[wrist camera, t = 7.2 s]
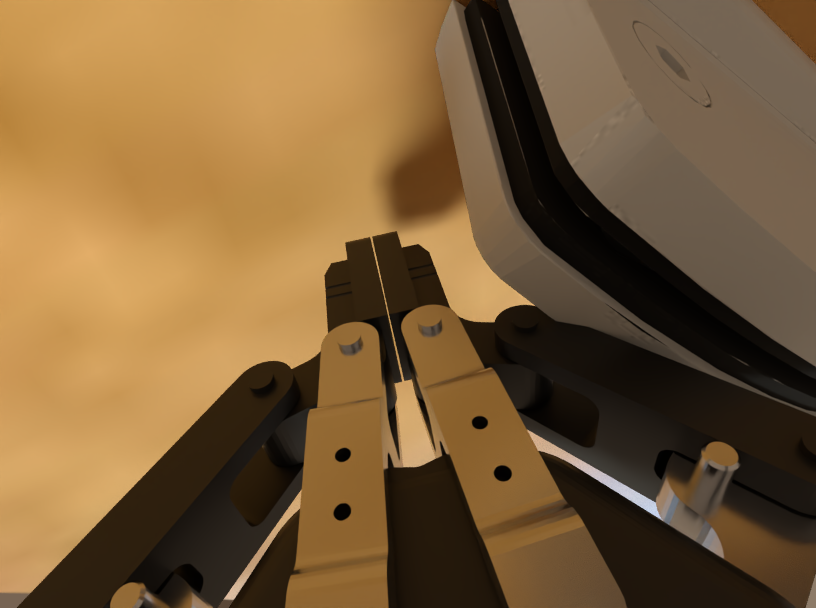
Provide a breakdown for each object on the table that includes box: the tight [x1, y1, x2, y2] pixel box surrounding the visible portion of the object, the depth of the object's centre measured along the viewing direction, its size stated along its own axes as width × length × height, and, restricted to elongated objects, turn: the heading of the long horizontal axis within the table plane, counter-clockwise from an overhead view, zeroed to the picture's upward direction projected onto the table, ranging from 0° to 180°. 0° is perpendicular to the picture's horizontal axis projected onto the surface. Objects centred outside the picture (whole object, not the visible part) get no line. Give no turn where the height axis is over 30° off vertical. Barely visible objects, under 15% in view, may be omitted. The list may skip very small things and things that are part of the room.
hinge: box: [435, 0, 816, 416], centre depth 12 cm, size 17×5×10 cm, turn 60°
